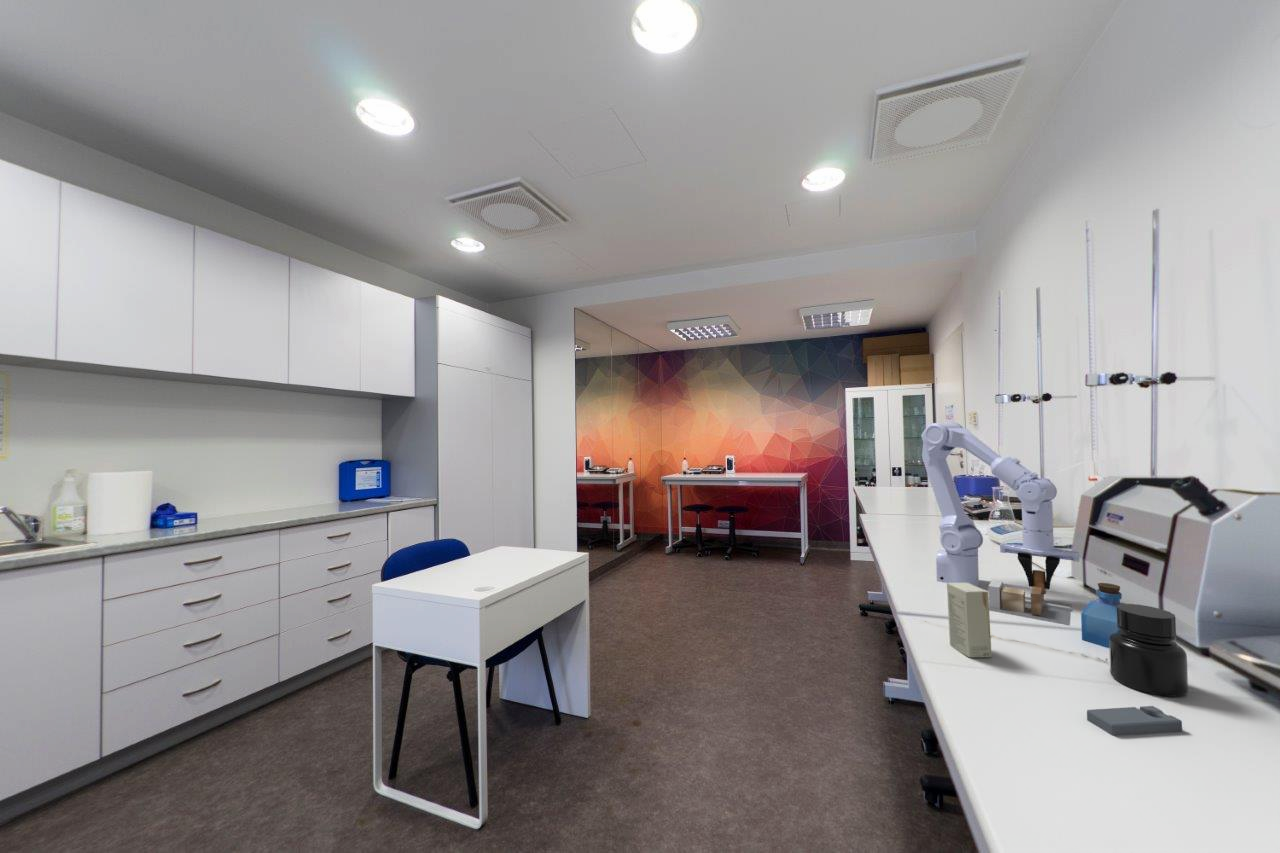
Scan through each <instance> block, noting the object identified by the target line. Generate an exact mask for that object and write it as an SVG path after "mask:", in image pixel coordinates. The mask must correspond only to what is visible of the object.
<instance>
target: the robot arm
mask: <svg viewBox="0 0 1280 853" xmlns="http://www.w3.org/2000/svg"><path fill="white" fill-rule="evenodd" d="M920 436H921V440H922V442H923V443H922V452H921V458H922V460H923V465H924V468H925V470H926V473H927V476H928V479H929V482H930V484H931V488H932V491H933V493H934V497H935V499H936V503H937V506H938V508H939V510H940V511H939V512H940V515H941V517H942V519H941V522H940V524H939V527H938V528H939V533H940V537H939V541H940V545H941V547H943V550H941V549H940V550H939V549H938V550H937V552H936V560H935V561H936V562H935V563H936V565H935V567H936V571H935V572H936V582H939V583H940V582H941V583H945V584H947V583H970V584H972V585H974V586H977V587H979V584H980V582H979V581H980V580H979V579H980V577H979V575H980V574H979V573H980V572H979V548H980V547H982V545H983V543H984V537H983V534H982V532H981V531H980V530H979V529H978V528H977V526H976V524H975V522H974V520H973V519H972V518H971V517H970V516H968V515H967V514H966V512H965V510H964V506H963V504H962V500H961V498H960V495H959V492H958V489H957V487H956V484H955V481H954V478H953V476H952V473H951V470H950V468H949V464H948V461H947V458H948V456H949V455H950V454H951V452H952V451H953V450H954V449H956V448H961V449H964V451H967V452H968V453H970V454H971V455H972V456H974V457H976V458H977V459H978V460H980V461H981V462H983V463H984V464H986V465H988V466H989V467H990V470H991V474H992V475H993V476H995V478H997V479H998V480H999V481H1001V482H1002V483H1004V484H1005V485H1007V486H1008V487H1009V488H1010V489H1011V490H1013V491H1015V494H1016V497H1017V499H1019V501H1020V502H1021V521H1022V522H1021V524H1022V544H1019V543H1017V544H1013V543H1003V542H1001V543H1000V544H999V552H1000V553H1002V554H1006V553H1007V554H1015V555H1016V554H1017V560H1018V562H1019V563H1020V565H1021V567H1022V569H1023V572H1024V573H1025V575H1026V578H1027V582H1028V586H1029V588H1032V587H1033V573H1032V570H1033V557H1040V558H1041V557H1042V558H1045V562H1044V563H1045V575H1046V584H1045V587H1046V590H1050V589H1051V582H1052V578H1053V575H1054V573H1055V572H1056V570H1057V568H1058V567H1059V565H1060V563H1061V562H1060V561H1061V560H1065V561H1073V562H1077V563H1079V562H1080V552H1079V551H1077V550H1076V551H1075V550H1067V549H1062V548H1055V544H1054V515H1053V512H1054V510H1053V500H1054V499H1055V498H1056V496H1057V495H1058V493H1057V492H1058V491H1057V489H1058V488H1057V487H1056V485H1055V484H1054V482H1052V481H1051V480H1050V479H1049V478H1046V477H1039V474H1038V473H1037V472H1035V471H1034V472H1032V471H1030V470H1029V469H1028V468H1026V467H1025V466H1024V465H1022V464H1020V463H1021V460H1019V459H1018V458H1015V457H1014V458H1012V457H1011V456H1003V457H1002V456H1001V455H999V453H997V452H996V451H994V450H993V449H992V448H991V447H990V446H988V445H987V444H986V443H985V442H984V441H983V440H980V439H979V437H977V436H975V435H974V433H972V431H971V430H970V429H968V428H966V427H964V426H963V425H962V424H960V423H957V422H949V423H948V422H946V423H944V422H943V423H939V422H933V423H930V424H928V425H927V426H926V427H925V429H924V430H923V432H922V433H921V435H920Z"/></svg>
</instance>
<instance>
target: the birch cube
mask: <svg viewBox="0 0 1280 853" xmlns="http://www.w3.org/2000/svg"><path fill="white" fill-rule="evenodd" d="M1025 597H1026V590H1025V589H1021V588H1014V587H1009V586H1003V588H1002V590H1001V604H1002V609H1007V610H1012V611H1018V612H1023V613H1024V610H1025Z"/></svg>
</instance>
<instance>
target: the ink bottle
mask: <svg viewBox="0 0 1280 853" xmlns="http://www.w3.org/2000/svg"><path fill="white" fill-rule="evenodd" d="M1176 619H1177V618H1176V614H1174V613H1172V612H1170V611H1167V610H1164V609H1162V608H1158V607H1154V606H1150V605H1143V604H1135V603H1125V604H1120V605H1117V624H1118V625H1117V627H1118V629H1120V630H1119V631H1117V632H1116V633H1114V634H1112V635H1111V636H1110V637H1109V648H1108V649H1109V650H1108V651H1109V673H1110V675H1111V677H1112V678H1114V679H1115V680H1116V681H1118V682H1119V683H1122V684H1123V685H1125V686H1127V687H1130V688H1132V689H1135V690H1137V691H1141V692H1143V693H1147V694H1152V695H1156V696H1157V695H1158V696H1163V697H1164V696H1165V697H1181V696H1185V695H1187V694H1188V692H1189V684H1188V683H1189V681H1188V680H1189V678H1188V676H1189V675H1188V655H1187V652H1186V651H1185V649H1184V648H1183V647H1182V646H1180V645H1179V644H1178V643H1177V642H1176V641H1175V640H1177V626H1176V625H1177V624H1176V622H1177V621H1176Z"/></svg>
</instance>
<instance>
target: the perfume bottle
mask: <svg viewBox="0 0 1280 853" xmlns="http://www.w3.org/2000/svg"><path fill="white" fill-rule="evenodd" d="M1097 586H1098V589H1096V596H1098V598H1097V599H1094V600H1091V601H1090V602H1088V605H1086V607H1085V608H1084V609H1083V611H1082V612H1081V614H1080V618H1081V619H1080V620H1081V641H1082V642H1083V641H1084V642H1086V643H1090V644H1093V645H1097V646H1101V647H1103V648H1106V649H1109V637H1110V636H1111V635H1112V634H1114V633H1116V632H1117V631H1119V630H1120V629H1118V627H1117V625H1118V624H1117V605H1120V604H1126V603H1124V602H1121V600H1122V599H1123V598H1122V595H1123V594H1122V593H1121V592H1120V590H1121V586H1120V585H1117V584H1114V583H1107V582H1098V583H1097Z"/></svg>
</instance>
